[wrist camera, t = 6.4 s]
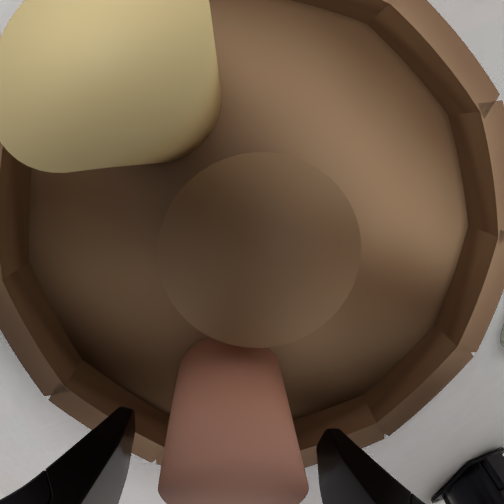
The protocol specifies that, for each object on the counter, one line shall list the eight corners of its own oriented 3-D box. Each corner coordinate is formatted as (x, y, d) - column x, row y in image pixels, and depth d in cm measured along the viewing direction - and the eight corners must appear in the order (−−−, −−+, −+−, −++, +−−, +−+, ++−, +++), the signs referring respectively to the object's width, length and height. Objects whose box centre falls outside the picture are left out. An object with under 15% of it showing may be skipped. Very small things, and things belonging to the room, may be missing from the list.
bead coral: (267, 413, 11) (285, 521, 6) (176, 403, 11) (160, 514, 6) (291, 341, 10) (330, 461, 5) (183, 326, 10) (156, 451, 5)
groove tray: (387, 429, 13) (404, 462, 11) (36, 385, 11) (14, 417, 9) (496, 78, 8) (536, 72, 6) (68, -24, 6) (40, -51, 4)
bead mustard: (208, 172, 8) (178, 188, 4) (90, 156, 8) (-28, 166, 3) (233, 51, 7) (238, -52, 3) (115, 43, 7) (29, -32, 2)
